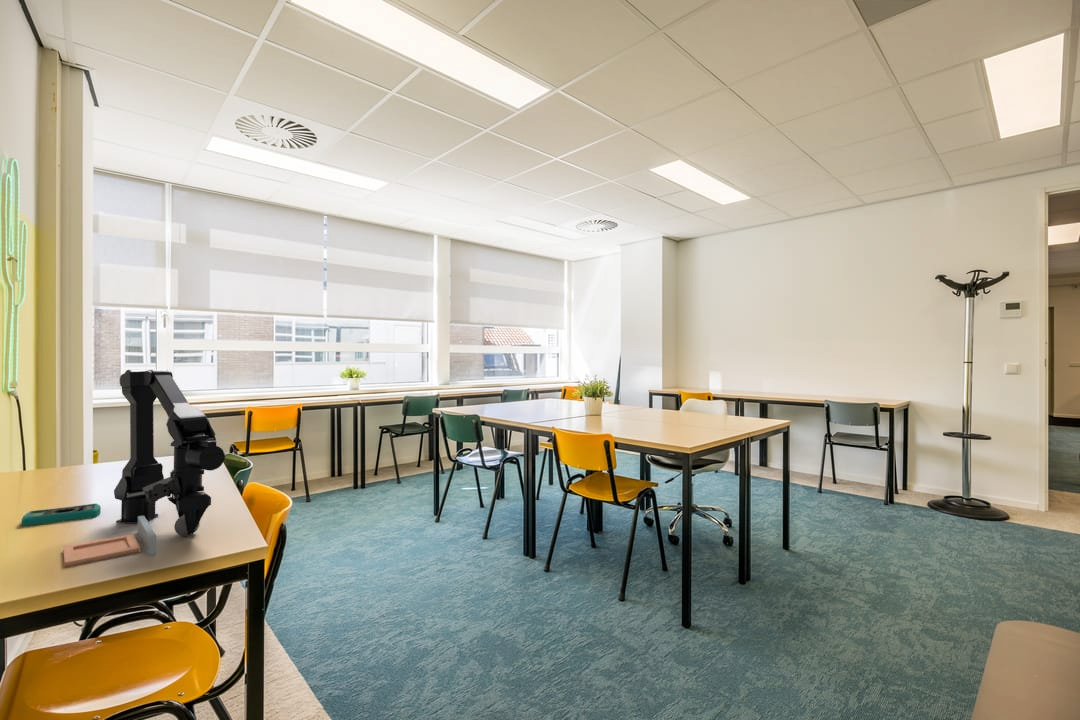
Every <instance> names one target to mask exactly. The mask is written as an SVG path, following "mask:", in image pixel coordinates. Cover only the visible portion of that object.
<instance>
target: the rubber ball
mask: <svg viewBox="0 0 1080 720" xmlns="http://www.w3.org/2000/svg"><path fill="white" fill-rule="evenodd" d="M200 524H201V522H199V523H198V525H197V527H196V529H195V531H194V533H196V532H197V530H198V529H199V528H200ZM173 526H174V528H173V529H174V531H175V533H176V534H177V535H179V536H183V537H187V536H189V535H188V534H187V530H186V525H185V519H184V515H183V516H181V517H180V518H179V517H178V518H177V519H176V521H175V522H174V525H173Z"/></svg>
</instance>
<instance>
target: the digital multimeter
mask: <svg viewBox="0 0 1080 720" xmlns="http://www.w3.org/2000/svg"><path fill="white" fill-rule="evenodd" d="M101 509H102V508H101V505H100V504H98V503H88V504H81V505H75V506H74V505H73V506H66V507H58V508H57V507H56V508H48V509H36V510H29V511H28V512H26V513H25V514H24V515H23V516H22V517H21V527H22V528H25V526H27V527H32V526H40V525H47V524H48V525H49V524H55V523H62V522H69V521H70V522H71V521H77V520H86V519H94V518H97V517H98V516H100V515H101Z"/></svg>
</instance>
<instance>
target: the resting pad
mask: <svg viewBox="0 0 1080 720" xmlns="http://www.w3.org/2000/svg"><path fill="white" fill-rule="evenodd" d="M62 548H63V551H62V552H63V562H64V563H63V564H64V568H69V567H75V566H78V565H84V564H88V563H89V564H90V563H95V562H98V561H104V560H107V559H108V560H109V559H114V558H118V557H124V556H128V555H133V554H139V553H141V547H140V545H139V543H138V540H137V538H136V536H135V535H134V533H132V534H126V535H119V536H114V537H109V538H104V539H97V540H93V541H87V542H82V543H76V544H70V545H65V546H63V547H62Z"/></svg>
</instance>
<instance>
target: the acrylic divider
mask: <svg viewBox="0 0 1080 720" xmlns="http://www.w3.org/2000/svg"><path fill="white" fill-rule="evenodd" d="M137 535H138V536H139V539H140V541H141V542H142V545H143V547H144V549H145V551H146V553H147V555H148V556H149V557H152V556H156V555H157V540H158V539H157V537H158V536H157V534H156V533H155V531H154V529H153V528H152V526H151V525H150V522H149V520H146V518H145V516H138V523H137Z"/></svg>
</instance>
